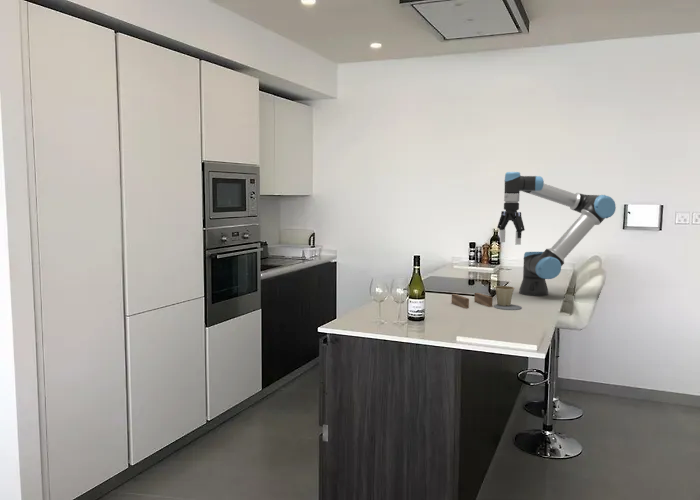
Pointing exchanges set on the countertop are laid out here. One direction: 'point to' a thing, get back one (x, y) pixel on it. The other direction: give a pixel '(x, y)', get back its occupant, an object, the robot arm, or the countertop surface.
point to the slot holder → (478, 298)
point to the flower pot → (504, 295)
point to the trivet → (508, 307)
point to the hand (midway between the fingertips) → (510, 243)
